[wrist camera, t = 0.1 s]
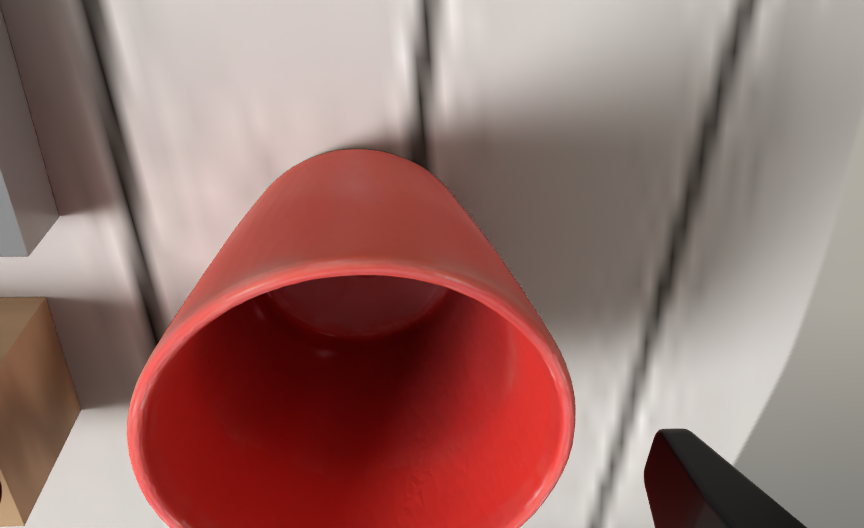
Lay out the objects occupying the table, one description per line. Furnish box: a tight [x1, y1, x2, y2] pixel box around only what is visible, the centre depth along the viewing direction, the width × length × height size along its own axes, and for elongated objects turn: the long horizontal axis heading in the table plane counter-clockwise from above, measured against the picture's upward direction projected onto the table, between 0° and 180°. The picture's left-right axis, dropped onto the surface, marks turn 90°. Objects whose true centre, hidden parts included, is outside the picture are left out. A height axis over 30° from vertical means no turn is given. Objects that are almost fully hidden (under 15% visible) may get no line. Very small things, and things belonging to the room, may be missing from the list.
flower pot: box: [127, 149, 575, 528], centre depth 21 cm, size 11×11×10 cm
